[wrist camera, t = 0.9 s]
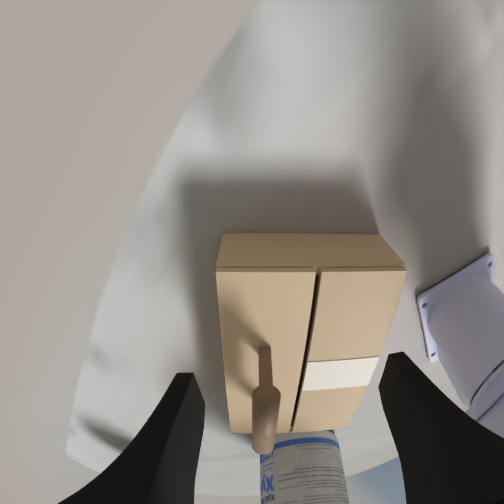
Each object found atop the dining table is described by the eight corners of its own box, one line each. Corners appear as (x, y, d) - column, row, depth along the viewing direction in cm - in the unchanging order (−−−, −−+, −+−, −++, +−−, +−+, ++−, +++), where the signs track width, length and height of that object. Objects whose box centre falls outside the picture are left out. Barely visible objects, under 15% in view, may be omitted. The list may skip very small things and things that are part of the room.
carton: (379, 234, 18) (408, 269, 14) (338, 390, 26) (347, 428, 22) (223, 232, 18) (214, 270, 14) (232, 393, 26) (230, 434, 22)
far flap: (231, 429, 22) (228, 476, 18) (216, 267, 15) (203, 331, 11) (288, 428, 22) (292, 476, 18) (314, 268, 15) (335, 331, 11)
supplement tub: (250, 432, 29) (249, 550, 16) (335, 417, 28) (355, 538, 15) (270, 460, 33) (272, 554, 20) (339, 448, 32) (354, 543, 19)
